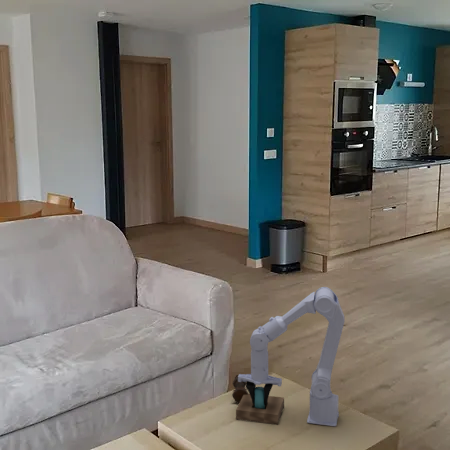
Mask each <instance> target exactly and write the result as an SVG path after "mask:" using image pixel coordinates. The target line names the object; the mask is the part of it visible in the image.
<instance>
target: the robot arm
mask: <svg viewBox="0 0 450 450" xmlns="http://www.w3.org/2000/svg"><path fill="white" fill-rule="evenodd" d="M316 313H318V314H319V315H321V316H323V317H324V318H325V319H326V320H327V321H328V324H327V327H326V328H327V329H326V332H325V336H324V340H323V343H322V344H323V345H322V349H321V352H320V356H319V359H318V363H317V365H316V369H315V370H314V371H313V372H312V375H311V386H310V390H309V412H308V416H307V420H306V423H307V424H313V425H321V426H329V427H330V426H331V427H337V423H338V419H339V417H340V416H339V415H340V412H339V395H338V394H335V393H333V392H332V388H331V380H332V379H331V378H332V372H333V367H334V363H335V360H336V356H337V352H338V349H339V345H340V341H341V336H342V333H343V328H344V324H345V322H346V320H345V314H344V311H343V309H342V306H341V304H340V301H339V297H338V296H337V294H336V293H335V292H334V291H333V290H332V289H331V288H329V287H327V286H322V287H319V288H318V289H316V290H315V291H312V292H311V293H310V294H308V295H307V296H306V297H304V298H303V299H302V300H301V301H299V302H298V303H297V304H296V305H294V306H293V307H292V308H291V309H290V310H288V311H287V312H286V313H284V314H283V315H282V316H281V315H276V316H275V317H274V316H271V317H270V318H269V319H268V322H266V323H265V324H263V325H262V326H261V325H260V326H258V327H257V328H256V329H254V330H253V331H252V333H251V334H250V335H251V336H250V339H249V344H250V350H251V351H250V373H246V374H245V373H244V374H241V373H239V374H238V375H239V376H238V382H241V381H243V382H246V386H245V389H246V391H247V392H248V394H250V396H251V399H252V404H255V391H254V389H255V388H256V387H257V386H260V385H264V386H263V387H264V405H267V402H268V396H270V393H271V390H272V389H273V386H277V387H281V386H282V385H283V384H282V383H283V379H282V378H280V377H276V376H272V375H269V351H268V349H269V348H268V345H269V343H271V342H273V341H274V340H276V339H277V338H279V336H281V335H282V334H284V333H285V332H287V330H288V325H290V324H292V323H293V322H294V321H296V320H297V319H299V318H301V317H303V316H304V315H305V314H314V315H315V314H316Z"/></svg>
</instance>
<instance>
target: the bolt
mask: <svg viewBox="0 0 450 450" xmlns="http://www.w3.org/2000/svg"><path fill="white" fill-rule="evenodd" d="M238 376H239V374H237V375H235V377H234V379H233V381H232V385H233V387H234V388H235V389H234V390H233V392H232V393H231V396H232V398H233V400H234V402H235V403H236V404H239V403H240V401H241V399H242V397H243V395H248V394H249V392H248V390H247V388H246V383H247V382H243V381H241V382H238Z"/></svg>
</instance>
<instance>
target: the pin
mask: <svg viewBox="0 0 450 450" xmlns="http://www.w3.org/2000/svg"><path fill="white" fill-rule="evenodd" d="M254 391H255V408H259V409H265V405H264V386H256V388H255V389H254Z"/></svg>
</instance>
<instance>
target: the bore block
mask: <svg viewBox="0 0 450 450" xmlns="http://www.w3.org/2000/svg"><path fill="white" fill-rule="evenodd" d="M284 410H285V397H283V396H273V395H269V396H268V402H267V405H265V409H259V408H255V404H252V399H251V396H250V393H248V395H243V397H242V399H241V401H240V403H238V406H237V407H236V408H235V420H238V421H244V422H245V421H246V422H252V423H253V422H255V423H261V424H269V425H270V424H271V425H279V423H280V420H281V417H282V414H283V411H284Z"/></svg>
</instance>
